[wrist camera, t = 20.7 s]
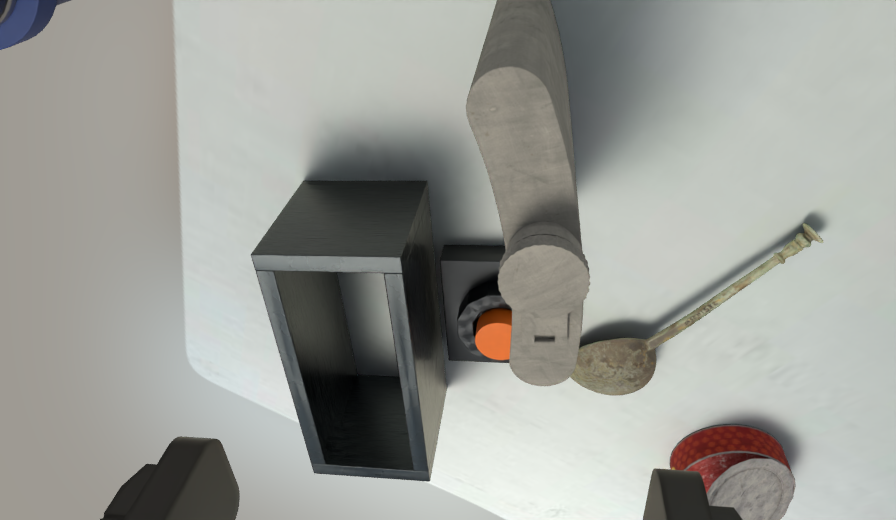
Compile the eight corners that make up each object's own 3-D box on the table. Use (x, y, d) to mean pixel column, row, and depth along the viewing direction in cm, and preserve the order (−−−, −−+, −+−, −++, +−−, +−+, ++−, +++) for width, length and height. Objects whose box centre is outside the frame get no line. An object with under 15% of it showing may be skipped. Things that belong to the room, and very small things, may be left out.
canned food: (683, 392, 59) (717, 431, 49) (788, 427, 58) (844, 474, 49) (643, 499, 61) (667, 558, 51) (745, 535, 60) (790, 601, 50)
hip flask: (493, -19, 37) (451, 96, 21) (562, -31, 36) (576, 79, 20) (523, 214, 46) (511, 426, 29) (580, 208, 45) (600, 424, 28)
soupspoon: (547, 352, 53) (598, 390, 56) (547, 382, 51) (601, 421, 53) (786, 196, 42) (839, 252, 44) (802, 224, 39) (858, 283, 41)
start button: (478, 343, 48) (475, 359, 47) (476, 307, 46) (473, 322, 45) (524, 345, 48) (524, 361, 46) (524, 308, 46) (524, 323, 44)
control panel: (452, 343, 53) (445, 376, 50) (443, 244, 48) (436, 274, 45) (558, 347, 52) (559, 381, 49) (562, 246, 47) (563, 277, 43)
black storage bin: (344, 383, 58) (310, 473, 50) (299, 180, 46) (246, 254, 38) (447, 388, 57) (429, 481, 48) (427, 180, 45) (400, 257, 37)
